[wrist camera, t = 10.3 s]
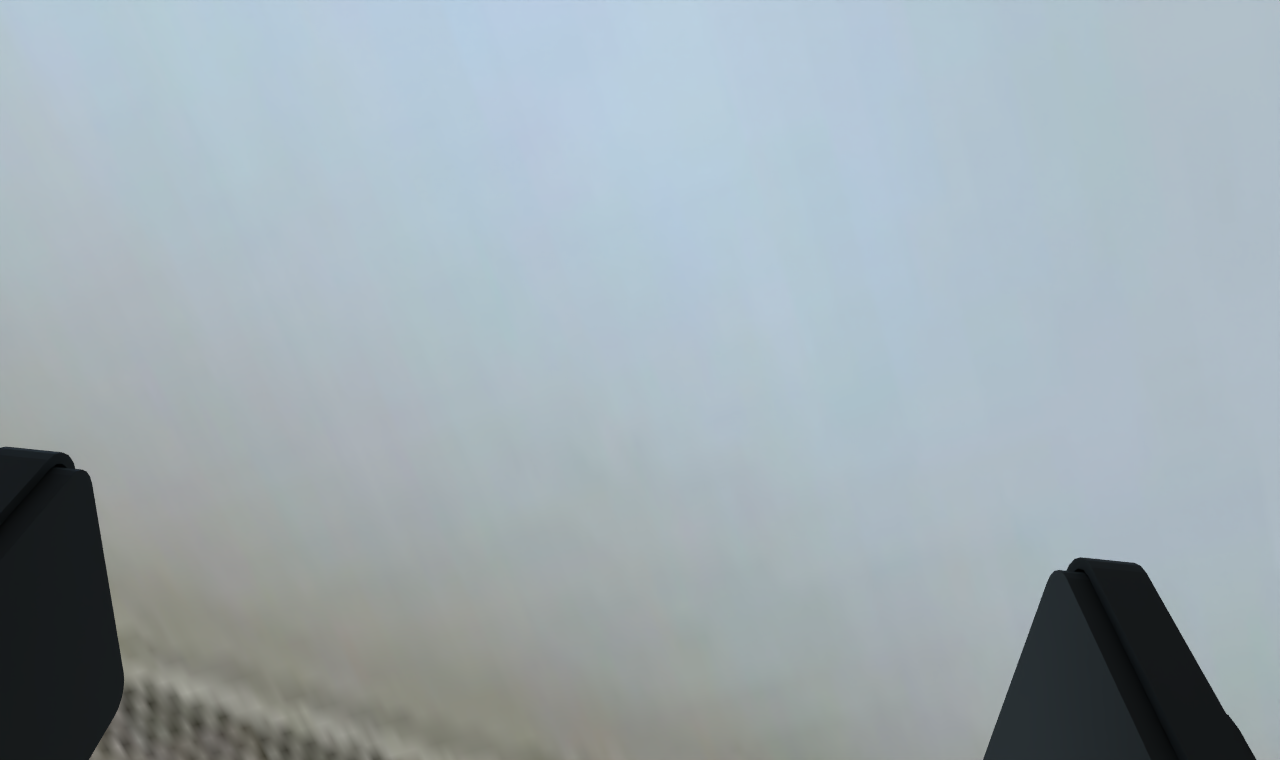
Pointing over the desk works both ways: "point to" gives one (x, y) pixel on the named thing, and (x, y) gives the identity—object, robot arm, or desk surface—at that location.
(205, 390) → the desk surface
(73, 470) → the robot arm
